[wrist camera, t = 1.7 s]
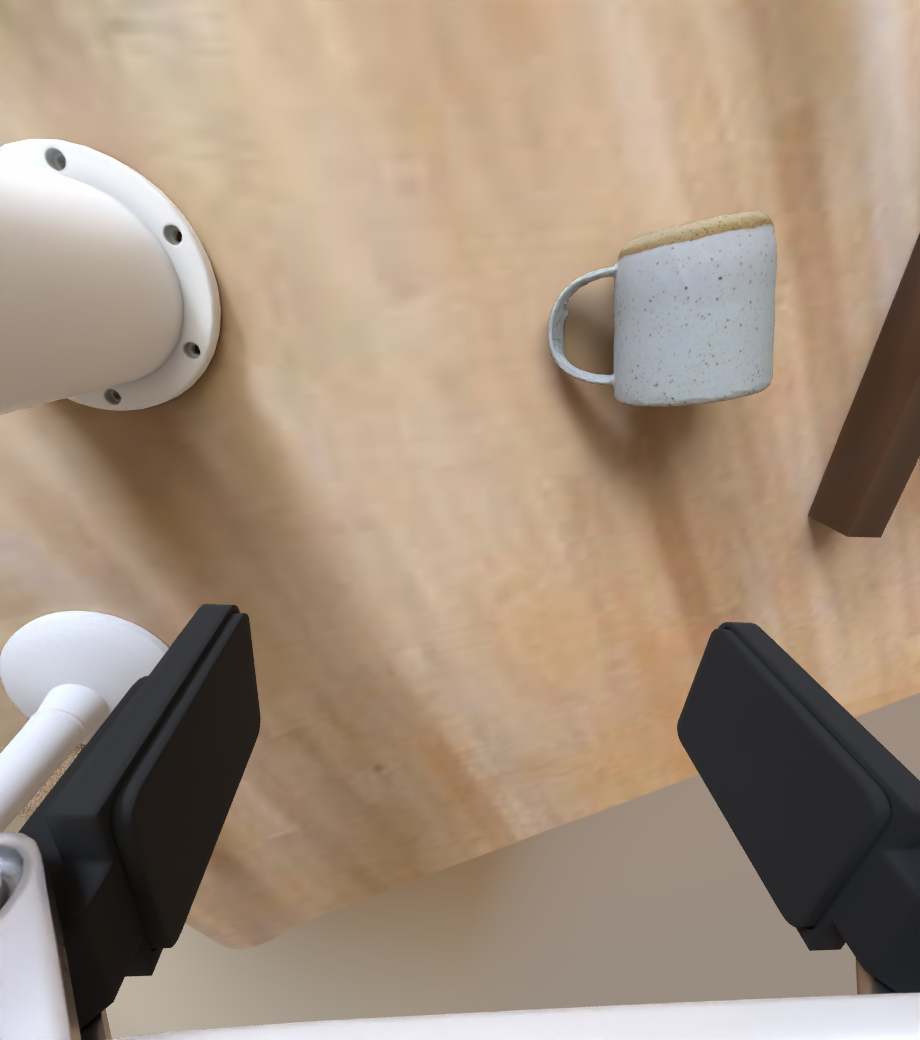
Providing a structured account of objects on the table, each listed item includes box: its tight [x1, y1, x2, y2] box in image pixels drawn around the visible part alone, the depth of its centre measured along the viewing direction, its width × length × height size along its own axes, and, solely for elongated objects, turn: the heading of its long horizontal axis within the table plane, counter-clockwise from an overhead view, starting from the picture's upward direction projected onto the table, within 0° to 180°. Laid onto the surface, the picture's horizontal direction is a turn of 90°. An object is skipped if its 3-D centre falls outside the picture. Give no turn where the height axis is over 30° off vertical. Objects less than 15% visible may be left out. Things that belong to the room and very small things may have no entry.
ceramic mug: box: [548, 211, 777, 407], centre depth 24 cm, size 11×8×8 cm
